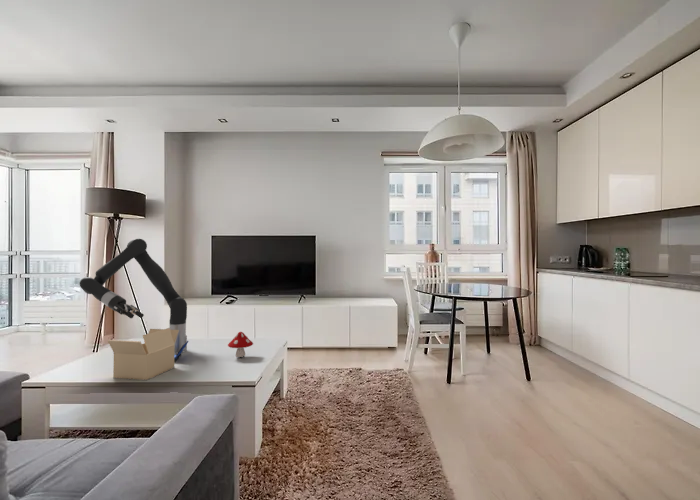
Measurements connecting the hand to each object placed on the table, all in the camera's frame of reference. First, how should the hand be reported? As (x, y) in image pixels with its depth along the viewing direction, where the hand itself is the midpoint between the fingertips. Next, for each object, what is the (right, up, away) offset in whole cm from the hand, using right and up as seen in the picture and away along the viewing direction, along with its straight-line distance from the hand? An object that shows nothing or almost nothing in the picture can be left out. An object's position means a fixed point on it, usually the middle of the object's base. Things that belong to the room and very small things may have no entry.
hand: (137, 316), depth 192 cm
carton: (+10, -26, -10) cm, 30 cm away
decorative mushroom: (+49, -27, +18) cm, 59 cm away
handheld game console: (+12, -27, +14) cm, 33 cm away
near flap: (+17, -10, -11) cm, 22 cm away
